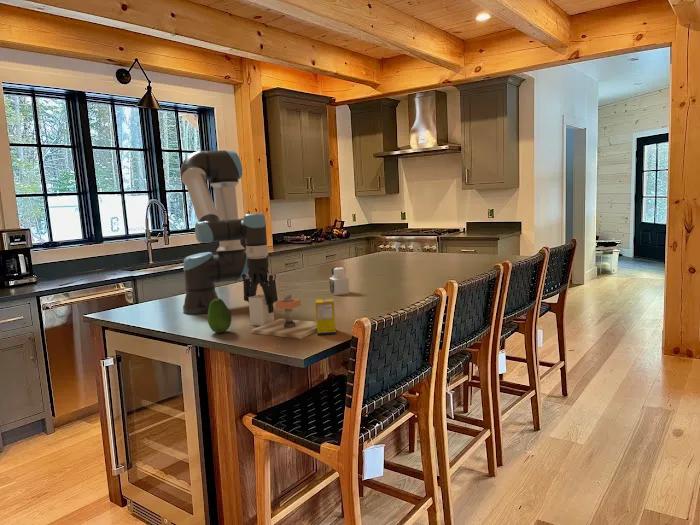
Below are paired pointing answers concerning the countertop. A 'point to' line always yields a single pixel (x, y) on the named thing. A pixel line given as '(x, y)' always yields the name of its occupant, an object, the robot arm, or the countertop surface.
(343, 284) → the medicine bottle
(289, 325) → the pipe stand
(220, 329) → the avocado
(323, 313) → the supplement box
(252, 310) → the sleeve
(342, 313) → the countertop surface
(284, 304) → the ring
